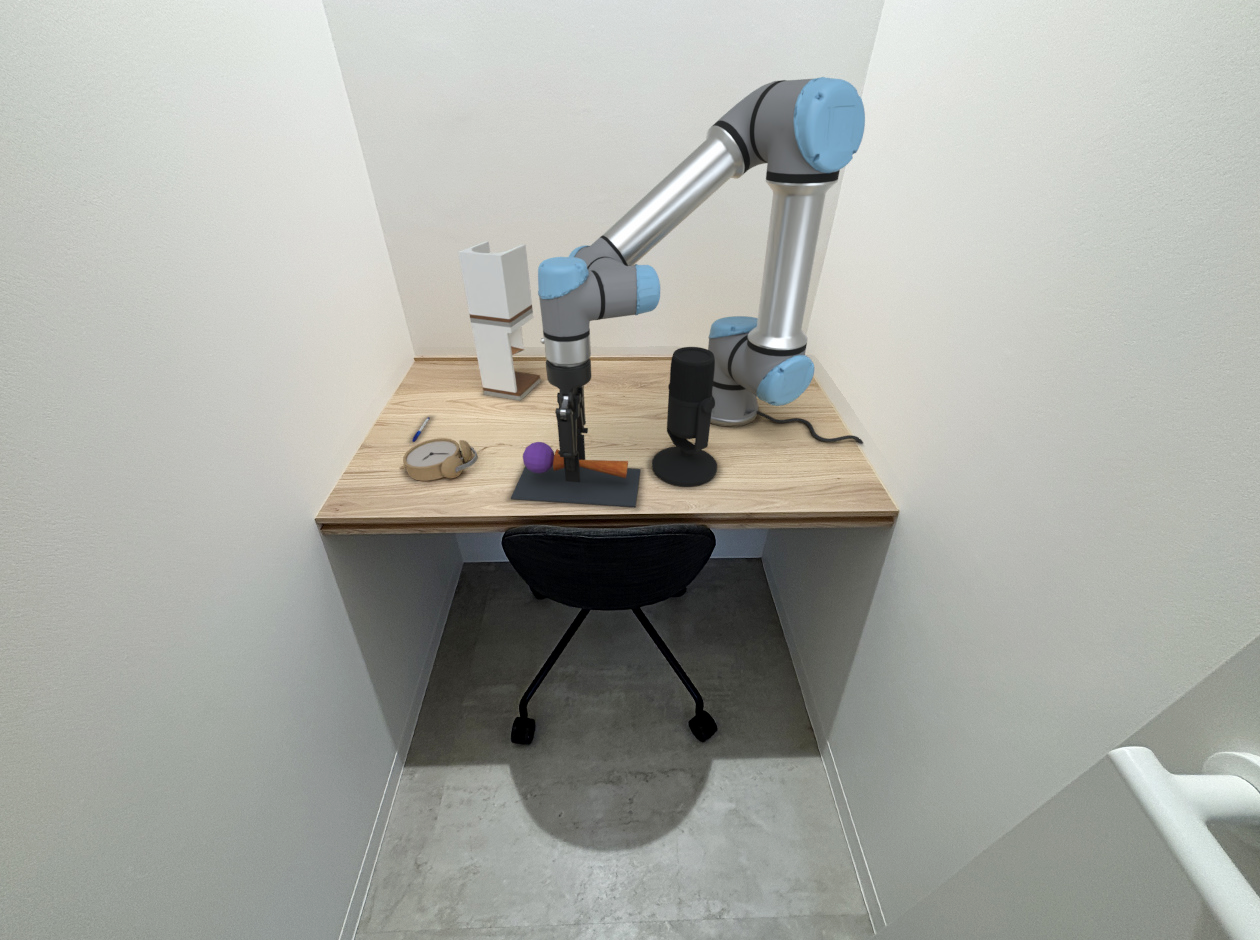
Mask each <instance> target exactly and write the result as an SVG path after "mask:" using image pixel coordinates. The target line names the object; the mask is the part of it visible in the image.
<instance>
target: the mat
mask: <svg viewBox="0 0 1260 940" xmlns="http://www.w3.org/2000/svg"><path fill="white" fill-rule="evenodd" d="M641 472H642V471H641V468H632V467H631V468H629V467H628V468H627V475H626V478H622V477H618V476H614V475H610V474H606V473H602V472H598V471H594V470H590V469H586V468H582V467H580V482H567V481H566V480H565V469H564V468H562V469H559V470H556V471H554V470H553V466H552V467H551V468H550V469H549V470H548V471H546V472H544V473H534V472H532V471H530V470H529V469H527V467H526V466H525V465H524V468H523V470H522V473H521V474H520V476H519V479H518V481H517V483H516V485H515V488H514V490H513V492H512V494H511V495H510V500H515V501H516V500H517V501H530V502H531V501H532V502H545V503H561V504H575V505H592V506H606V507H619V508H621V507H622V508H637V507H636V506H637V500H638V492H639V485H640V477H641Z"/></svg>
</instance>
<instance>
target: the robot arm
mask: <svg viewBox="0 0 1260 940" xmlns="http://www.w3.org/2000/svg"><path fill="white" fill-rule="evenodd" d="M865 126H866V112H865V105H864V102H863V98H862V97H861V96H860V95H859V92H858V90H857V88H856V87H855V86H854V85H853V84H852V83H850V81H847V80H845V79H841V78H833V77H825V76H820V77H817V78H801V79H790V80H789V79H788V80H786V79H782V80H774V81H770V82H768V83H765V84H763V85H761V86H759V87H758V88H756V89H755V90H753V91H752V92H750V93H749V94H747V95H746V96H744V97H743V99H741V100H740V101H738V102H737V103H736V104H735V105H734V106H733V107H731V108H730V109H729V110H728V111H726V113H725V114H723V115H722V116H721V117H720V118H719V119H718V120H717V121H716V122H715V123H713V124H712V125H711V126H710V127H709V128H708V129H707V132H706V137H705V140H704V141H703V142H702V143H701V144H700V145H699V146H698V147H696V148H695V150H693V151H692V152H691V153H690V154H689V155H688V156H687V157H686V158H684V159H683V160H682V161H681V162H680V163H679V164H678V165H677V166H675V168H673V169H672V170H671V171H670V172H669V173H668V174H667V175H666V176H665V177H664V178H663V179H662V180H660V182H658V184H656V185H655V186H654V187H653V188H652V189H650V191H649V192H648V193H646V194H645V195H644V196H643V197H642V198H641V199H640V200H639V201H638V202H636V204H635V205H633V207H631V208H630V209H629V210H628V211H627V212H626V213H624V215H623V216H621V217H620V219H618V220H617V221H616V222H615V223H613V225H612V226H610V227H609V228H608V229H607V230H606V231H605V232H604V233H602V235H601V236H599V238H597V239H596V240H595V241H594V242H593V243H592V244H591V245H586V244H585V245H580V246H577V247H575V248H574V249H573V250H572V251H571V252H570V253H569V255H568V256H555V257H550V258H547V259H543V261H541V262H540V263H539V265H538V267H537V286H538V287H537V288H538V290H537V295H538V298H539V307H540V316H541V325H542V335H543V337H542V338H540V344H542V345H544V356H545V359H546V361H545V371H546V380H547V382H548V383H549V384H550V385H551V386H553V387H554V388H555V387H556V388H557V389H558V390H559V392H557V394H556V401H557V404H558V407H556V408H555V411H554V413H555V417H556V421H557V436H558V446H559V449H558V450H559V452H558V454H560V457H564V469H565V480H566V481H567V482H580V465H579V460H586V446H585V445H586V444H585V434H588V432H589V428H588V427H585V426H586V424H587V421H586V406H585V405H586V404H585V386H586V385H587V384H589V383H590V381H591V380H592V361H591V356H592V348H591V347H592V346H591V329H590V323H591V321H600V320H607V319H614V318H621V317H628V316H639V315H641V314H645V313H651V312H653V311H654V310H656V309H657V307H658V305H659V303H660V301H661V282H660V278H659V275H658V273H657V271H656V270H655V268H654V267H653V266H652V265H649V264H638V262H639V261H640V260H641V259H643V258H644V257H645V256H646V255H647V254H648V253H649V252H650V251H652V250H653V249H654V247H656V246H657V245H658V244H659V243H660V242H661V241H662V240H664V238H666V237H667V236H668V235H669V234H670V233H671V232H672V231H674V229H676V228H677V227H678V226H679V225H680V224H681V223H683V222H684V221H685V220H686V219H687V218H689V216H690V215H691V214H692V213H694V212H695V211H696V210H697V209H698V208H699V207H700V206H701V205H702V204H703V203H705V202H706V201H707V200H708V199H709V198H710V197H711V196H713V194H714V193H716V192H717V191H718V190H719V189H720V188H721V187H723V186H724V185H725V184H726V183H727V182H728V181H729V180H730V179H734V180H736V179H740V178H742V176H743V175H745V174H746V173H747V172H748V171H749V170H751V169H752V168H754V167H757V166H760V165H764V164H767V165H766V171H765V172H766V173H765V182H766V184H767V185H768V186H769V188H770V189H771V191H772V200H771V208H770V216H769V225H768V232H767V240H766V248H765V255H764V264H763V272H762V279H761V280H762V281H761V288H760V296H759V304H758V312H757V317H753V316H746V315H745V316H744V315H736V316H735V315H734V316H733V315H732V316H726V317H721V318H718V319H716V320H714V321H713V323H711V325H710V329H709V334H708V345H707V350H709V351H711V352H712V353H713V354H714V358H715V370H714V380H713V389H712V396H713V397H714V399H715V407H714V408H713V409H712V413H711V421H710V424H711V425H714V426H719V427H730V428H731V427H733V428H734V427H741V426H745V425H749V424H750V423H752V422H754V421H755V420H756V418H757V417H758V416H760V417H763V418H764V419H767V420H769V421H771V422H773V423H775V424H789V423H794V422H795V423H796V422H797V423H798V422H800V423H802V424H805V425H806V426H807V427H808V428H809V431H810V433H811V435H812V436H813V438H815V440H818V441H820V442H824V443H835V442H840V441H845V440H854V441H856V442H857V443H858V444H861V445H863V444H864V441H863V440H862V439H861V438H860V437H858V436H856V435H842V436H839V437H837V436H836V437H832V438H830V437H829V438H826V437H822V436H821V435H819V434H817V433H816V431H815V429H814V427H813V425H812V423H811V422H810V421H809V420H807V419H804V418H800V417H793V418H786V419H777V418H774V417H772V416H771V415H768V414H766V413H764V412H761V411H759V404H758V400H760V401H764V402H765V403H766V404H768V405H770V406H772V407H773V406H774V407H781V406H785V405H788V404H791V403H793V402H794V401H797V399H799V398H800V396H801V395H802V394H804V393H805V392H806V390H807V389H808V388H809V387H810V385H811V383H812V381H813V378H814V375H815V364H814V362H813V361H812V359H811V357H810V356H807V355H806V351H807V345H808V336H807V334H806V333H805V332H804V330H802V328H803V322H804V317H805V312H806V308H807V307H806V305H807V300H808V296H809V295H808V294H809V290H810V285H811V284H810V283H811V277H812V272H813V268H814V267H813V266H814V260H815V256H816V250H817V246H818V239H819V233H820V227H821V223H822V216H823V211H824V206H825V200H826V194H827V192H828V191H829V190H830V189H831V188H833V186H835V185H836V183H838V181H839V176H840V171H841V170H842V169H843V168H845V167H847V166H848V164H850V162H851V161H853V156H854V154H857V152H858V150H859V149H860V146H861V143H862V141H863V137H864V133H865ZM859 438H860V439H859Z"/></svg>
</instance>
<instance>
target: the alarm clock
mask: <svg viewBox="0 0 1260 940" xmlns="http://www.w3.org/2000/svg"><path fill="white" fill-rule="evenodd" d="M473 454H474V456H473V458H472V455H473ZM463 461H464V462H465V463H463ZM477 461H478V453H477V451H476V450H475V448H474V447H472V446H471V445H470V444H469V442H468V441H467V440H464V439H459V440H458V442H457V440H454V439H451V438H445V437H441V438H440V437H438V438H432V439H427V440H424V441H422V442H419V443H417V444H415V445H413V446H412V447H410V448H409V449H408V450H407V451H406V452H405V453H404V455H403V457H402V463H403V464H404V465H402V466H400V467H399V470H405V469H406V472H407V474H408V476H409V477H410V479H413V480H416V481H420V482H421V481H422V482H425V481H435V480H438V479H442V478H446V479H456V478H458V477H459V476H460V475H461V474H462V472H463V470H464V469H468V468H470V467H472V466H473V465H474V464H475V463H476V462H477Z"/></svg>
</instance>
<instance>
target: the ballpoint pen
mask: <svg viewBox="0 0 1260 940" xmlns="http://www.w3.org/2000/svg"><path fill="white" fill-rule="evenodd" d="M429 421H430V417H429V416H428V417H427V418H426V419H425V420H424V422H423V423H422V425H421V426H420V427H419V428H418V430H417V431H416V432H415V434H414V436H413V438H412V443H414V442H416V441H417V440H418V438H419V437H420V435H421V434H422V432H423V430H424V428H425V427H426V425H427V424H428V422H429Z"/></svg>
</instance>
